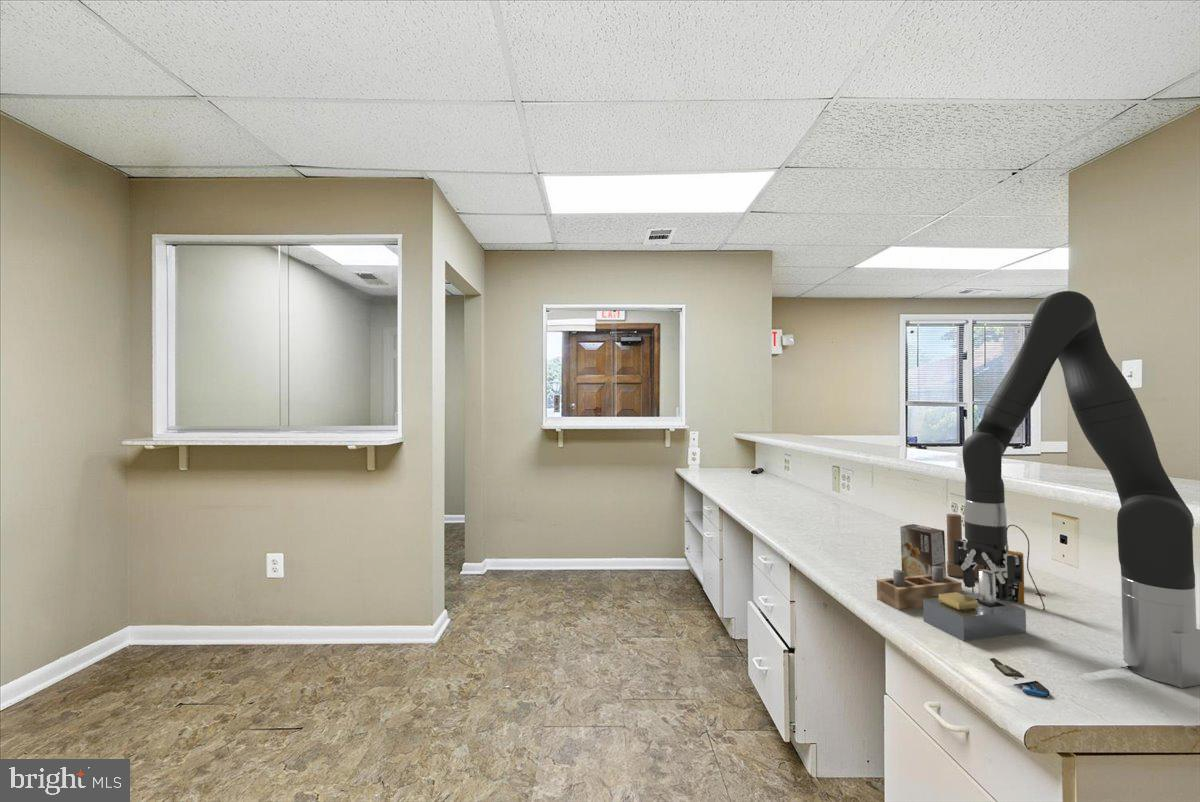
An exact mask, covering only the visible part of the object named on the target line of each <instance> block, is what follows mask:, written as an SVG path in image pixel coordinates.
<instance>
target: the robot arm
mask: <svg viewBox="0 0 1200 802" xmlns="http://www.w3.org/2000/svg"><path fill="white" fill-rule="evenodd" d="M1057 359H1058V361H1059V363H1060V366H1061V368H1062V373H1063V377H1064V384H1065V388H1066V392H1067V395H1068V396H1067V397H1068V399H1069V402H1070V405H1071V408H1072V411H1073V414H1074V415H1075V418H1076V419H1077V422H1078V425H1079V427H1080V429H1081V432H1082V433H1083V434H1084V436H1085V438H1086V440H1087V442H1089V444H1090V445H1091V448H1092V450H1094V452H1095V453H1096V454H1097V456H1098V457H1099V458H1100V460H1101V461H1102V462H1103V464H1104V465H1105V467H1106V469H1107V471H1108V472H1109V473H1110V475H1111V478H1112V480H1113V483H1114V486H1115V488H1116V492H1117V495H1118V499H1119V502H1120V508H1119V510H1118V513H1117V517H1116V520H1117V521H1116V529H1117V530H1116V533H1117V535H1116V536H1117V548H1118V549H1117V551H1118V553H1117V555H1118V561H1119V565H1120V580H1121V581H1120V582H1121V583H1120V584H1121V585H1120V586H1121V589H1120V591H1121V619H1122V647H1123V651H1122V653H1123V654H1122V655H1123V661H1124V663H1125V664H1127V665H1125V667H1126V668H1127V669H1128V670H1130V671H1131V672H1133V673H1136V674H1137V675H1139V676H1143V677H1144V678H1146V679H1147V678H1148V679H1150V680H1153V681H1156V682H1160V683H1164V684H1168V685H1172V686H1175V687H1178V688H1180V689H1184V688H1188V687H1189V688H1190V687H1195V686H1200V629H1199V628H1197V607H1196V606H1197V605H1196V604H1197V602H1196V599H1197V598H1196V573H1195V565H1194V541H1193V540H1194V537H1193V536H1194V533H1193V532H1194V531H1193V529H1194V526H1195V522H1194V521H1195V519H1194V516H1193V513H1192V512H1191V510H1190V509H1189V507H1188V506H1187V504H1186V503H1185V501H1184V500H1183V498H1182V497H1181V495H1180V494H1179V492H1178V491H1177V489H1176V488H1175V486H1174V484H1173V483H1172V480H1171V479H1170V478H1169V476H1168V474H1167V472H1166V471H1165V469H1164V466H1163V465H1162V462H1161V459H1160V457H1159V453H1158V449H1157V446H1156V442H1155V439H1154V437H1153V433H1152V431H1151V428H1150V426H1149V424H1148V421H1147V418H1146V416H1145V413H1144V411H1143V409H1142V407H1141V404H1140V403H1139V400H1138V398H1137V397H1136V394H1135V392H1134V391H1133V389H1132V387H1131V385H1130V384H1129V382H1128V380H1127V379H1126V377H1125V376H1124V374H1123V373H1122V371H1121V370H1120V369H1119V368H1118V366H1117V364H1116V363H1115V362H1114V360H1113V359H1112V357H1111V356H1110V355H1109V352H1108V350H1107V347H1106V345H1105V343H1104V340H1103V337H1102V333H1101V331H1100V328H1099V323H1098V320H1097V312H1096V309H1095V306H1094V304H1093V302H1092V301H1091V299H1090V298H1088V297H1087V296H1086V295H1084V294H1083V293H1081V292H1078V291H1073V290H1062V291H1058V292H1055V293H1052V294H1049V295H1048V296H1046V297H1044V298H1043V299H1042V300H1041V301H1040V302H1039V303H1038V304H1037V306H1036V307H1035V309H1034V312H1033V315H1032V319H1031V321H1030V325H1029V327H1028V330H1027V332H1026V335H1025V338H1024V341H1023V343H1022V344H1021V347H1020V349H1019V351H1018V353H1017V355H1016V357H1015V359H1014V361H1013V362H1012V364H1011V365H1010V367H1009V368H1008V371H1007V372H1006V374H1005V375H1004V377H1003V378H1002V380H1001V381H1000V383H999V385H998V386H997V388H996V390H995V391H994V393H993V395H992V396H991V399H990V400H989V401H988V403H987V404H986V407H985V408H984V411H983V413H982V414H983V415H982V418H981V419H980V422H979V423H978V425H977V426H976V427H975V429H974V431H973V433H972V434H971V435H970V436H968V437H967V438H966V439H965V440H964V442H963V444H962V462H963V470H964V474H965V484H964V488H965V489H964V491H965V497H964V498H965V499H964V500H965V503H964V511H963V512H964V513H963V514H964V538H965V539H962V540H955V541H954V564H955V565H959V566H960V567H961V569H962V570H963V580H962V581H963V584H964V587H966V588H968V589H970V588H971V589H972V587H973V588H975V587H976V579H975V571H973V569H974V568H975V567H976V566H977V565H983V566H985V567H987V568H990V569H991V571H992V572H993V573H994V574H996V576H997V578H998V579H999V581H1000V583H999V598H1000V599H999V598H998V599H999V600H1002V601H1004V602H1007V601H1009V600H1010V599H1012V584H1015V583H1022V581H1023V580H1022V558H1021V556H1020V555H1011V554H1007V552H1006V550H1005V545H1006V543H1007V540H1008V530H1007V527H1008V525H1007V524H1008V523H1007V522H1008V521H1007V509H1006V504H1005V502H1006V501H1005V499H1006V498H1005V485H1004V484H1005V483H1004V480H1003V478H1002V461H1003V460H1002V458H1003V457H1002V456H1003V455H1004V454H1005V452H1006V450H1007V448H1008V447H1009V444H1010V443H1011V440H1012V439H1013V437H1014V435H1015V433H1016V431H1017V429H1018V428H1019V427H1020V426H1021V425H1022V423H1023V422H1024V420H1025V419H1026V418H1027V416H1028V414H1029V412H1030V411H1031V409H1032V407H1033V405H1035V402H1036V401H1037V399H1038V397H1039V395H1040V393H1041V391H1042V389H1043V386H1044V385H1045V382H1046V380H1047V378H1048V376H1049V373H1050V371H1051V370H1052V368H1053V366H1054V364H1055V362H1056V361H1057ZM967 550H968V552H969V554H967ZM960 556H961V560H960ZM1004 560H1006V561H1004ZM1006 563H1007V564H1006ZM998 566H1000V567H1001V568H997V567H998ZM1002 573H1003V574H1002ZM1003 575H1004V576H1005V577H1004V576H1003Z"/></svg>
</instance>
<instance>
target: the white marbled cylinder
mask: <svg viewBox="0 0 1200 802" xmlns="http://www.w3.org/2000/svg"><path fill="white" fill-rule="evenodd" d="M977 580H978V581H977V582H978V593H979V604H981V605H984V606H986V607H989V608H990V607H996V599H997V598H996V589H995V574H994V573H993V572H992V571H990V570H985V569H979V570H978V579H977Z"/></svg>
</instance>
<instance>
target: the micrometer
mask: <svg viewBox="0 0 1200 802" xmlns="http://www.w3.org/2000/svg"><path fill="white" fill-rule="evenodd" d="M989 661H990V662H992V663H993V665H994V667H995V668H996V669H997V670H998V671H999V672H1000V673H1001V674H1003V675H1004V676H1006V677H1011V678H1012V679H1014V681H1015V680H1018V679H1019V678H1025V675H1024V674H1023V673H1021V672H1020V671H1018V670H1016V669H1014V668H1012V667H1011V666H1010V665H1007V664H1003V663H1002V662H1000V661H999V659H997V658H994V657H991V658H989ZM1025 685H1026V686H1025ZM1013 686H1018V688H1019V689H1022V692H1023V694H1025V693H1029V694H1028V695H1031V694H1034V695H1033V696H1035V695H1038V696H1037V697H1039V696H1043V697H1042V698H1045V697H1044V696H1049V697H1050V690H1049V689H1048V688H1047V687H1045V686H1044V685H1043V684H1041V683H1040V682H1039V681H1037V680H1033V681H1027V682H1026V681H1025V682H1020V683H1014V684H1013ZM1024 686H1025V687H1029V688H1030V689H1029V688H1024Z"/></svg>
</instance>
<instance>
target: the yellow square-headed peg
mask: <svg viewBox="0 0 1200 802" xmlns="http://www.w3.org/2000/svg"><path fill="white" fill-rule="evenodd" d="M965 595H966V594H963V593H962V594H960V593H958V592H955V593H946V594H939V601H940V602H942V603H943V605H946V606H948V607H950V608H953V609H955V610H957V611H966V610H974V608H978V600H975V599H973V598H970V597H968V596H965Z"/></svg>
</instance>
